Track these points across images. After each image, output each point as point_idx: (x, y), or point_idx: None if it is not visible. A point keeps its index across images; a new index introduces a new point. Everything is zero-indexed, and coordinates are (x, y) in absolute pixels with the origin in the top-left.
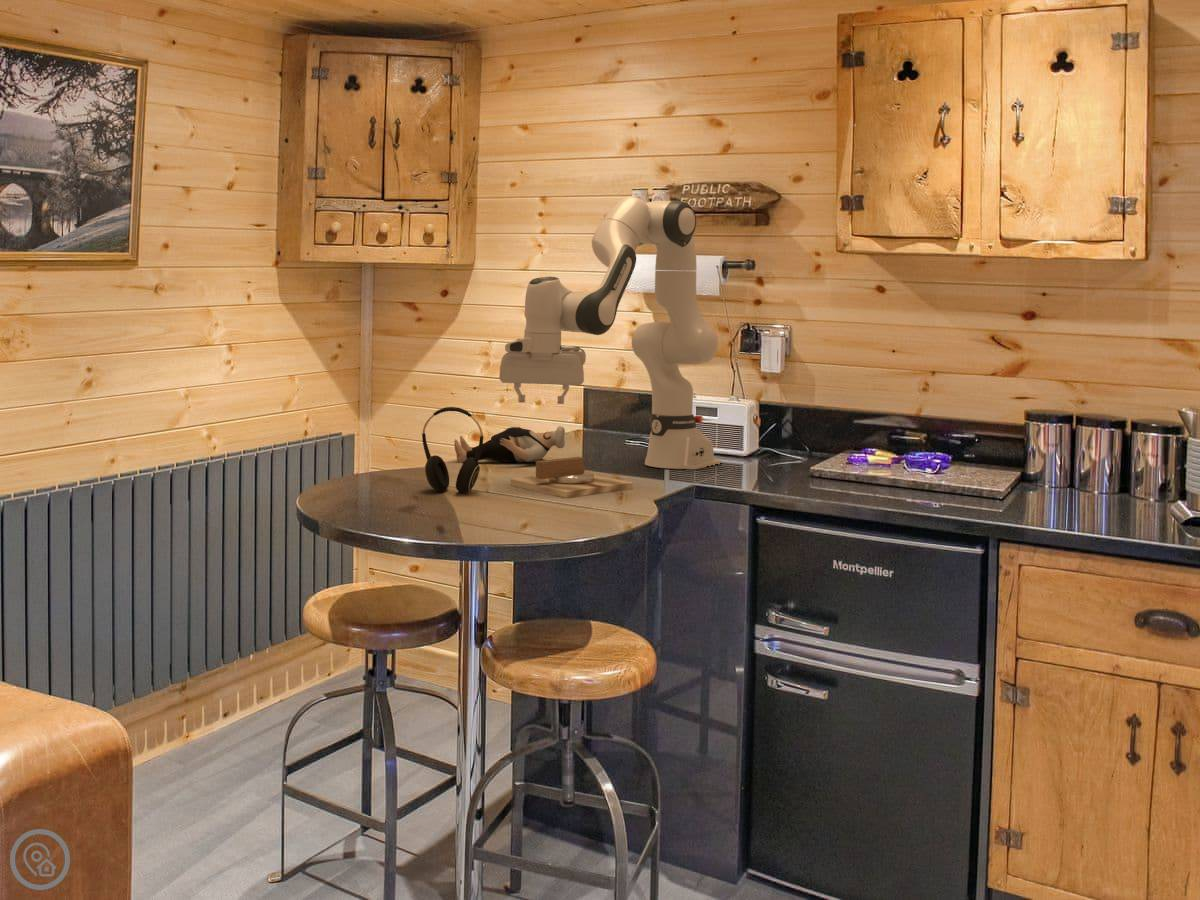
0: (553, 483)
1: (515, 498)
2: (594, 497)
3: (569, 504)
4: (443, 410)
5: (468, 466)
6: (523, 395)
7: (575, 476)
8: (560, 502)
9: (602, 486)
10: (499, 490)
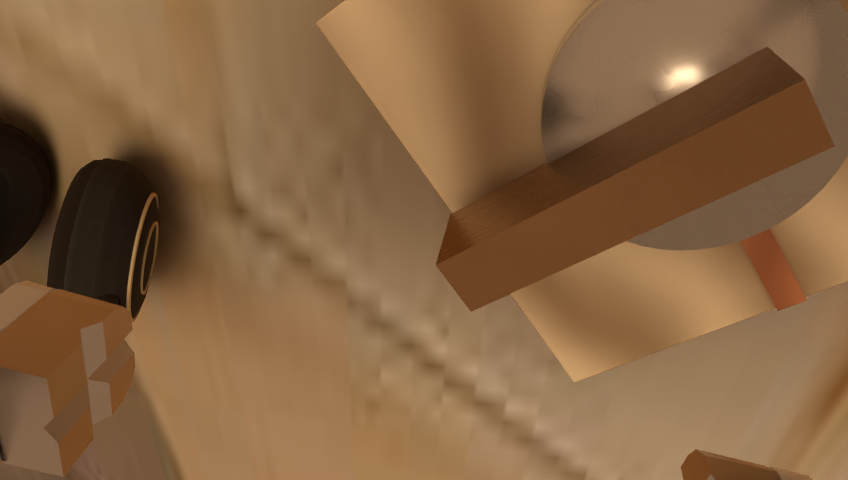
0: None
1: (362, 341)
2: (714, 363)
3: (564, 460)
4: None
5: None
6: (49, 467)
7: (692, 214)
8: (536, 427)
9: (812, 290)
10: (282, 167)
